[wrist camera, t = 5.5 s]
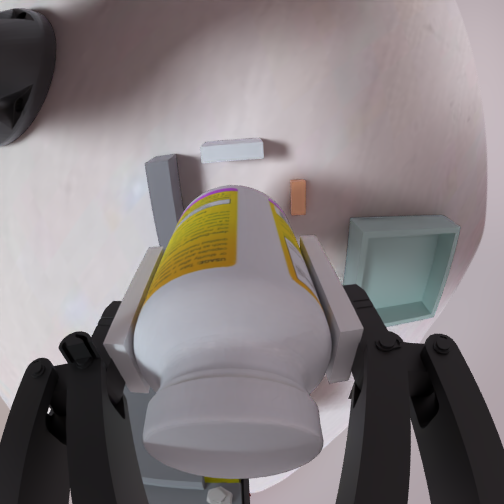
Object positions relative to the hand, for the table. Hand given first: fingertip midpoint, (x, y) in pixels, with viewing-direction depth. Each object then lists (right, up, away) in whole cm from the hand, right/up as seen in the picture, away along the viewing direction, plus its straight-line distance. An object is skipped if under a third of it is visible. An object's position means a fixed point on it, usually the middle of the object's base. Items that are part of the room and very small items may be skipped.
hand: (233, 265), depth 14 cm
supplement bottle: (0, +2, +3) cm, 3 cm away
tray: (+16, -1, +14) cm, 21 cm away
